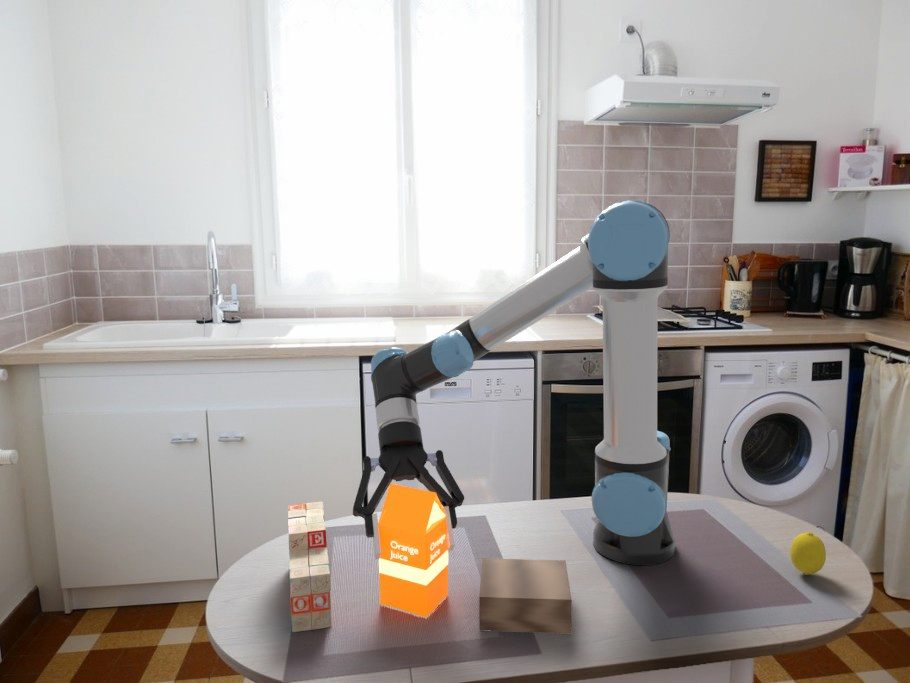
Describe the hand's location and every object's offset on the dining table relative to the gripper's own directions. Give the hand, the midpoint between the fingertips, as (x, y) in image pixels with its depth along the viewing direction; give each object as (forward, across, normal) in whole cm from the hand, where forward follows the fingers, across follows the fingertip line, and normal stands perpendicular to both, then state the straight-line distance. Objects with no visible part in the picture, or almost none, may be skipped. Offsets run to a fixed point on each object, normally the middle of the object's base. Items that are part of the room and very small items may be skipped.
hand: (415, 552), depth 111 cm
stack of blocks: (+1, +17, -14) cm, 22 cm away
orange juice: (+5, 0, -9) cm, 11 cm away
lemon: (+11, -68, -4) cm, 69 cm away
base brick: (+10, -17, -5) cm, 20 cm away
